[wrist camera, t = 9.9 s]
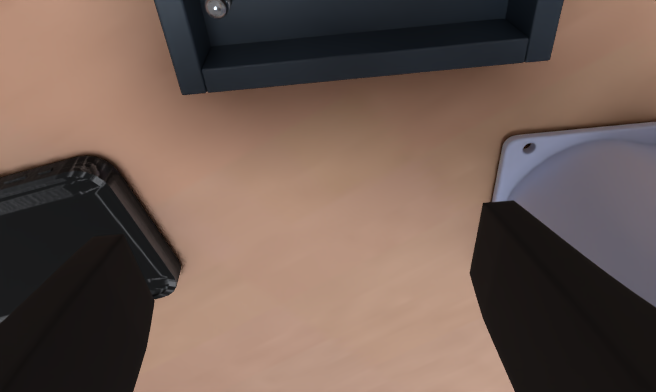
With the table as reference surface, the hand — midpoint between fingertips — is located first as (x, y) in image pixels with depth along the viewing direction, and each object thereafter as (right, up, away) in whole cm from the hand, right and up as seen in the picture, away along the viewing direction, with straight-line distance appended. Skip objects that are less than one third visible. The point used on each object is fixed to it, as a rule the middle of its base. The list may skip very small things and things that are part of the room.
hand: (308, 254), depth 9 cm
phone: (-15, -1, +12) cm, 19 cm away
